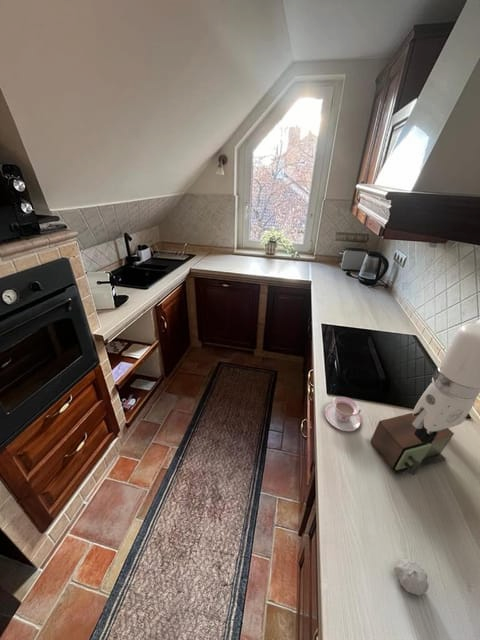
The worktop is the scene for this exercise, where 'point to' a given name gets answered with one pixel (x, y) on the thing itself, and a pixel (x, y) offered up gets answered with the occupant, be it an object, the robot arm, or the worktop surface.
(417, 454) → the slide door
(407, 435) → the sideboard
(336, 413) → the teacup
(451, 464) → the worktop surface
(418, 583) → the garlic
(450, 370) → the robot arm
